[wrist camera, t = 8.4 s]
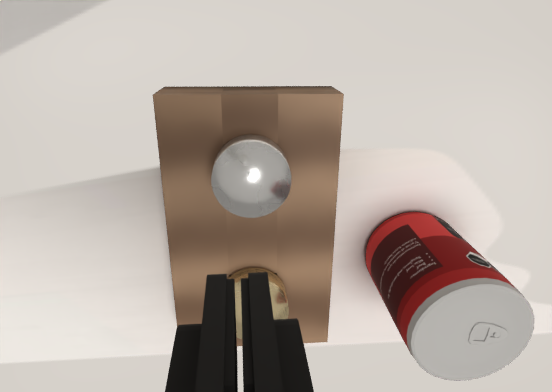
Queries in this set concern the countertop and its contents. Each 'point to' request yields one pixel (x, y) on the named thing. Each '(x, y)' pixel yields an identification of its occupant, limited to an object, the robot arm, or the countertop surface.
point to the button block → (261, 230)
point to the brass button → (276, 293)
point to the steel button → (251, 176)
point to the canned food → (447, 298)
